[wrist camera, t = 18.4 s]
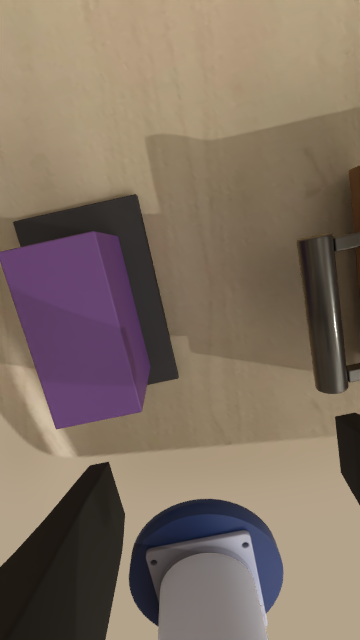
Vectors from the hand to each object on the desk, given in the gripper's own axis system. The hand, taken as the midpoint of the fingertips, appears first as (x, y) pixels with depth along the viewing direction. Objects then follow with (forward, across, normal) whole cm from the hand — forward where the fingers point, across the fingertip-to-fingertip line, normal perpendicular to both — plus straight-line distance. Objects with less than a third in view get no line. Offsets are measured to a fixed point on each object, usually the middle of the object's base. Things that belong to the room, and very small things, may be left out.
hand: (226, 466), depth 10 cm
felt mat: (+10, +5, -4) cm, 12 cm away
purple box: (+10, +5, -4) cm, 12 cm away
